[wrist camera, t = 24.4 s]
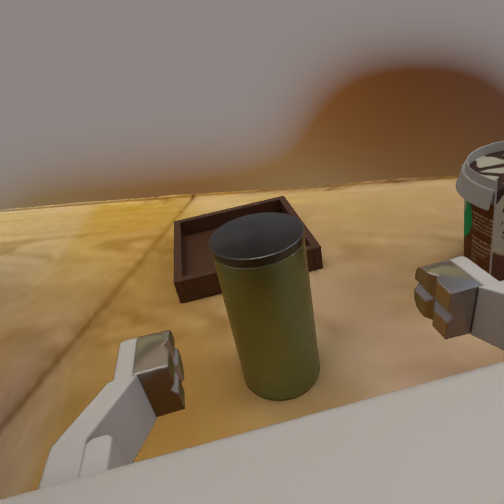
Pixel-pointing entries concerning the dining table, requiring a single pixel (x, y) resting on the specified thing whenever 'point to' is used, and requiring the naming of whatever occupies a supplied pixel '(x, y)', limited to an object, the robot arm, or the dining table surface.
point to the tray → (198, 253)
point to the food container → (484, 208)
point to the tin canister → (268, 301)
